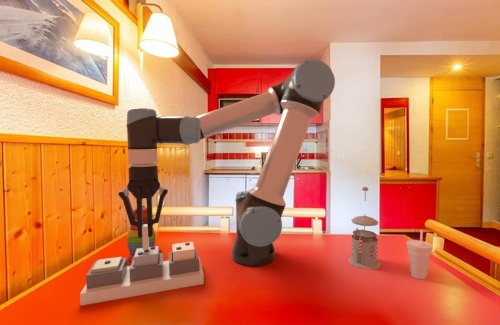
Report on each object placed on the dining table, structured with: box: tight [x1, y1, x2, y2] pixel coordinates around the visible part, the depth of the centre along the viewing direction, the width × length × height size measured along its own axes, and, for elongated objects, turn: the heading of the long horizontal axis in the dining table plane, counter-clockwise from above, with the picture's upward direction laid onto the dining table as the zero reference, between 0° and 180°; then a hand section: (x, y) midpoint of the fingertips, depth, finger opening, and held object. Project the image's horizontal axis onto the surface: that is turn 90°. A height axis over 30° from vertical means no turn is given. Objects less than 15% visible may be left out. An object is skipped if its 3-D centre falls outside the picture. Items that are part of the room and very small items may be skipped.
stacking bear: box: [126, 205, 163, 263], centre depth 90 cm, size 11×10×18 cm
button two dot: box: [172, 241, 195, 262], centre depth 75 cm, size 6×6×4 cm
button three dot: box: [134, 245, 160, 267], centre depth 72 cm, size 6×6×4 cm
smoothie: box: [406, 228, 434, 280], centre depth 74 cm, size 6×6×14 cm
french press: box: [348, 186, 382, 270], centre depth 82 cm, size 10×12×25 cm
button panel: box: [79, 247, 205, 306], centre depth 73 cm, size 30×12×6 cm, turn 108°
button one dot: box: [92, 256, 123, 273], centre depth 69 cm, size 6×6×4 cm
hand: (145, 248), depth 72 cm, fingers closed
